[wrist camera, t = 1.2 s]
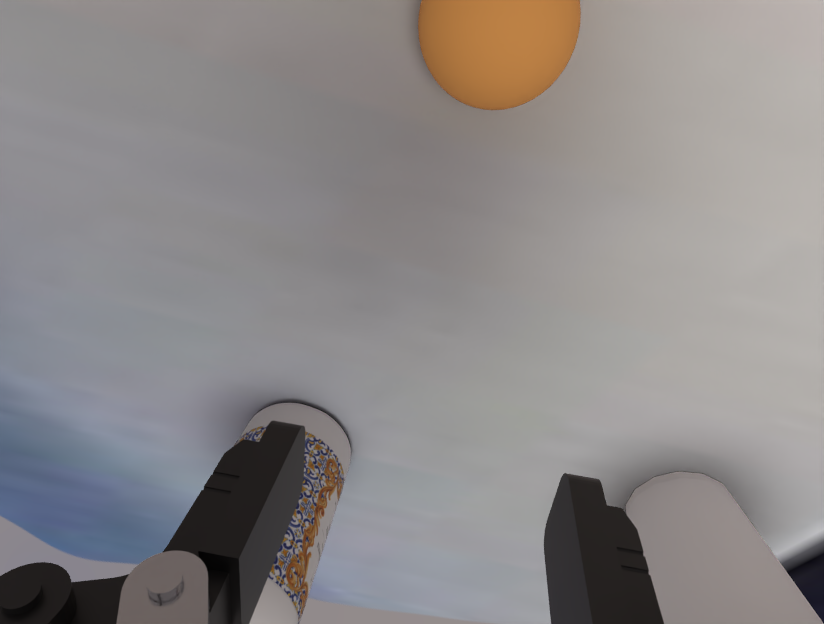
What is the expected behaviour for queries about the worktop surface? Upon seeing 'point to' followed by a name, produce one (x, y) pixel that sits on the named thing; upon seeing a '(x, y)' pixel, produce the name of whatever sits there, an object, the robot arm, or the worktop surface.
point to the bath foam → (302, 509)
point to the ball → (497, 47)
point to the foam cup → (710, 556)
